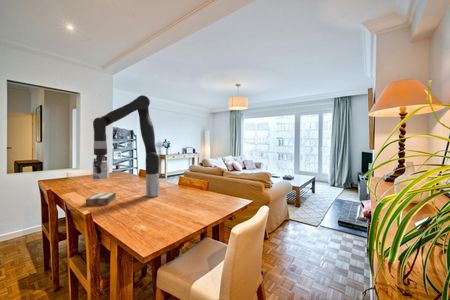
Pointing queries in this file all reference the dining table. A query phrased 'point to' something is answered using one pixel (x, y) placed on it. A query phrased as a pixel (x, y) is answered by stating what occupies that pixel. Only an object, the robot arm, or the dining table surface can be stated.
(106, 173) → the ink box
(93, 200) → the base
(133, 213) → the dining table surface
